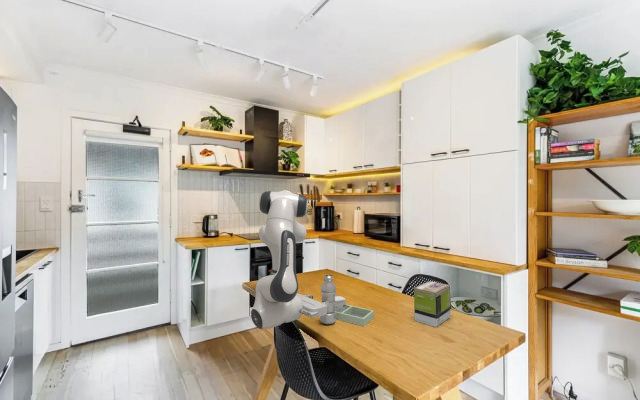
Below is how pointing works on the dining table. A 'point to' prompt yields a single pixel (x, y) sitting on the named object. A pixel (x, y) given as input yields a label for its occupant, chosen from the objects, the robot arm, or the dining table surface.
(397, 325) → the dining table surface
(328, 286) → the plastic bottle
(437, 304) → the tea box
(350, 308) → the tray
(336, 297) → the skincare box
